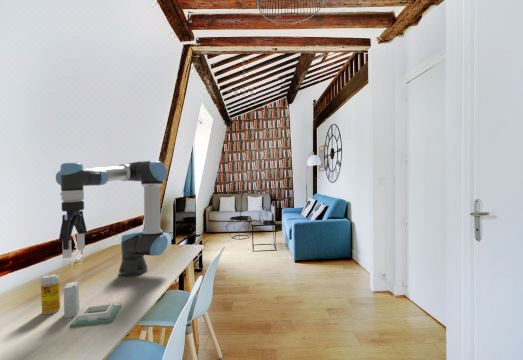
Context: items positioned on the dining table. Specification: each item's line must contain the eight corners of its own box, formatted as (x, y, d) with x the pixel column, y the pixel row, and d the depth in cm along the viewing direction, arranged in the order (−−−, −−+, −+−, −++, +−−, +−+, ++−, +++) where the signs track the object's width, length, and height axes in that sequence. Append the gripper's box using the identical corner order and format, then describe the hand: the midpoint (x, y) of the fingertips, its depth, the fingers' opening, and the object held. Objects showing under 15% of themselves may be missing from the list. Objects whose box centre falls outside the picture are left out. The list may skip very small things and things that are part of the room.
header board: (84, 311, 115) (84, 303, 115) (121, 306, 117) (120, 299, 117) (69, 327, 102) (69, 319, 102) (111, 322, 105) (110, 314, 105)
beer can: (39, 316, 111) (38, 279, 111) (44, 309, 117) (43, 274, 117) (58, 312, 114) (56, 276, 113) (61, 306, 119) (60, 272, 119)
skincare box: (67, 311, 114) (66, 283, 114) (80, 309, 116) (79, 281, 116) (63, 318, 109) (62, 288, 108) (77, 316, 110) (76, 286, 110)
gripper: (74, 199, 123) (76, 246, 123) (46, 204, 99) (48, 262, 99) (93, 198, 125) (95, 244, 125) (70, 203, 101) (72, 260, 101)
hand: (74, 253), depth 112 cm, fingers open, 13 cm apart
